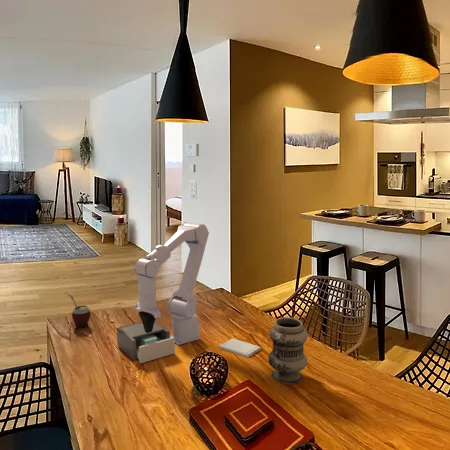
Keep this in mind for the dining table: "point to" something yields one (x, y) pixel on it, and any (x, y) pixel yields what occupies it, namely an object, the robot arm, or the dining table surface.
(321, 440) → the dining table surface
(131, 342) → the housing
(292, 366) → the apothecary jar
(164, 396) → the dining table surface
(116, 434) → the dining table surface
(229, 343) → the hard drive
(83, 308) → the mate gourd
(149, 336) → the teal block
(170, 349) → the tray
